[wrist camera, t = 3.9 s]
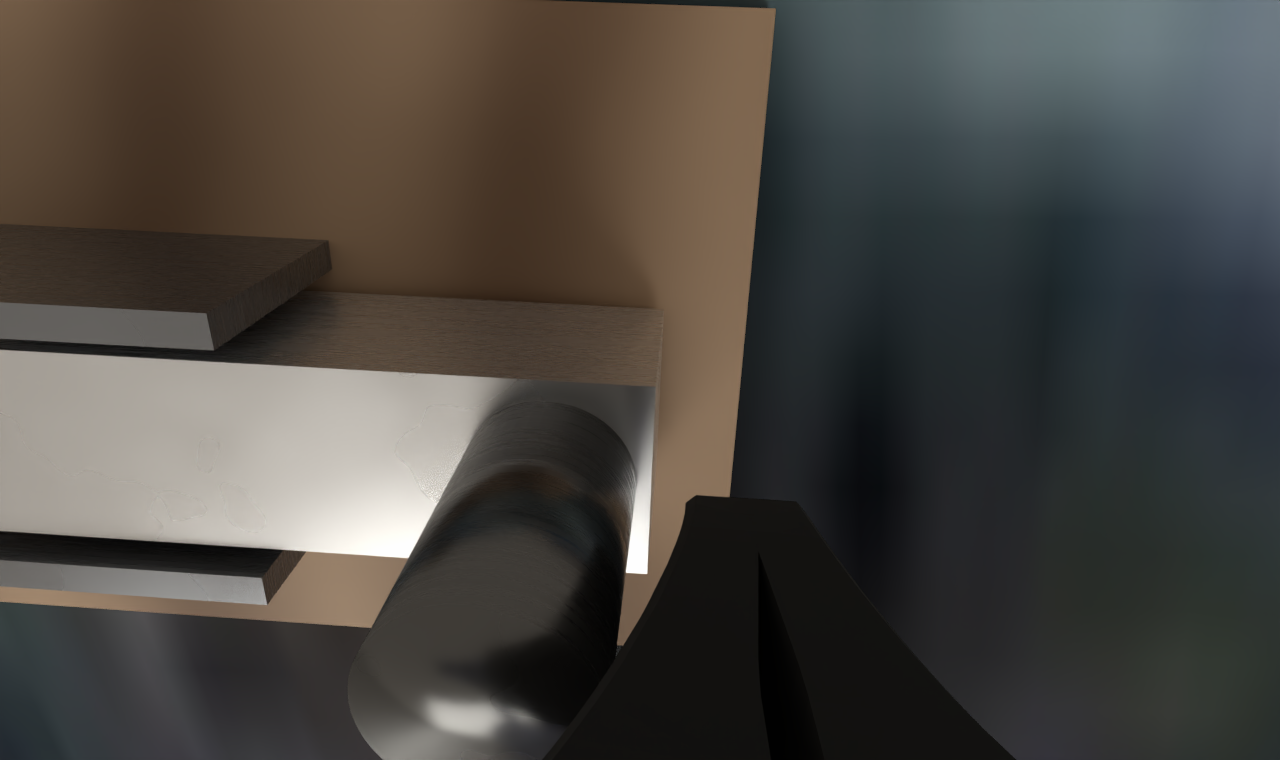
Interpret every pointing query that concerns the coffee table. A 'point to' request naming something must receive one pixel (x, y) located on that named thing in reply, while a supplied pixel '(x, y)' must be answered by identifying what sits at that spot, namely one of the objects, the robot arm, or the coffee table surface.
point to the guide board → (421, 183)
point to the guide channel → (148, 317)
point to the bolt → (381, 484)
